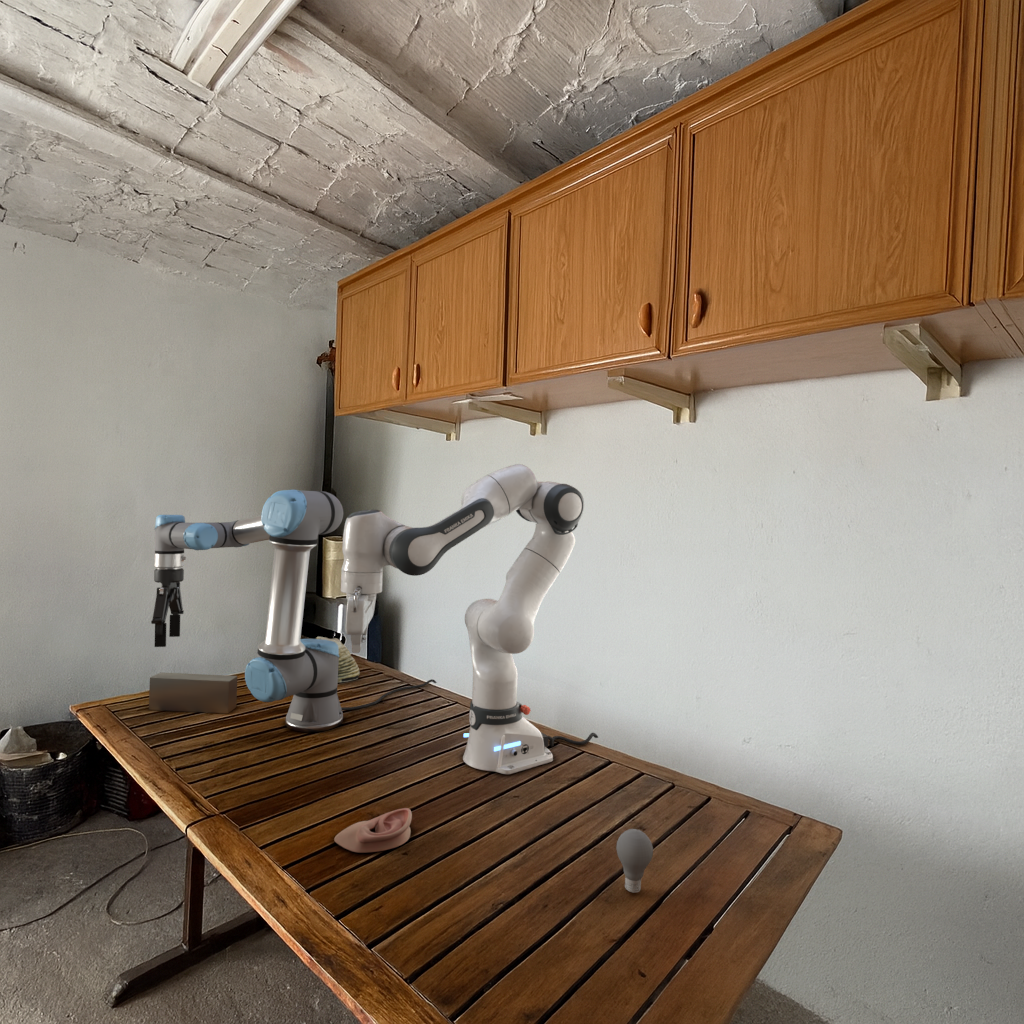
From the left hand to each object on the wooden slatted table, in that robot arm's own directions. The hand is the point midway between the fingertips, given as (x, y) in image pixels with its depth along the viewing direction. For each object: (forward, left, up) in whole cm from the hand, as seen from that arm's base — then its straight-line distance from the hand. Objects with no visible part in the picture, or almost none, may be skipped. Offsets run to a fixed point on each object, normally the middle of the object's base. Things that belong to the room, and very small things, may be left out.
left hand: (167, 641), depth 183 cm
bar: (-5, +6, -19) cm, 21 cm away
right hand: (-6, +79, +12) cm, 80 cm away
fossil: (-50, +10, -19) cm, 54 cm away
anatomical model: (+4, +99, -19) cm, 101 cm away
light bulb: (-15, +143, -19) cm, 145 cm away
